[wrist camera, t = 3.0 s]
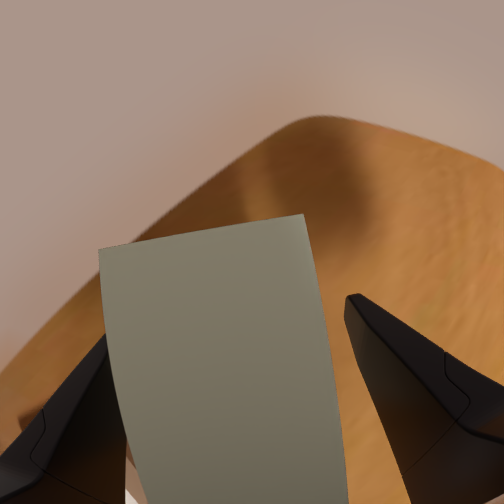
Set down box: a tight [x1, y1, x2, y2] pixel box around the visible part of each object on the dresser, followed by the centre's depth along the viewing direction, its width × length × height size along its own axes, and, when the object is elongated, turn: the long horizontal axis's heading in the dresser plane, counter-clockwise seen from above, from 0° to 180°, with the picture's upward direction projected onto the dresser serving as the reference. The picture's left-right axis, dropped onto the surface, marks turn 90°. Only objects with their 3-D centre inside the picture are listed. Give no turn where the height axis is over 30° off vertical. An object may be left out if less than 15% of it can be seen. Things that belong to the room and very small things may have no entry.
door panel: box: [99, 214, 349, 504], centre depth 10 cm, size 6×4×11 cm, turn 10°
